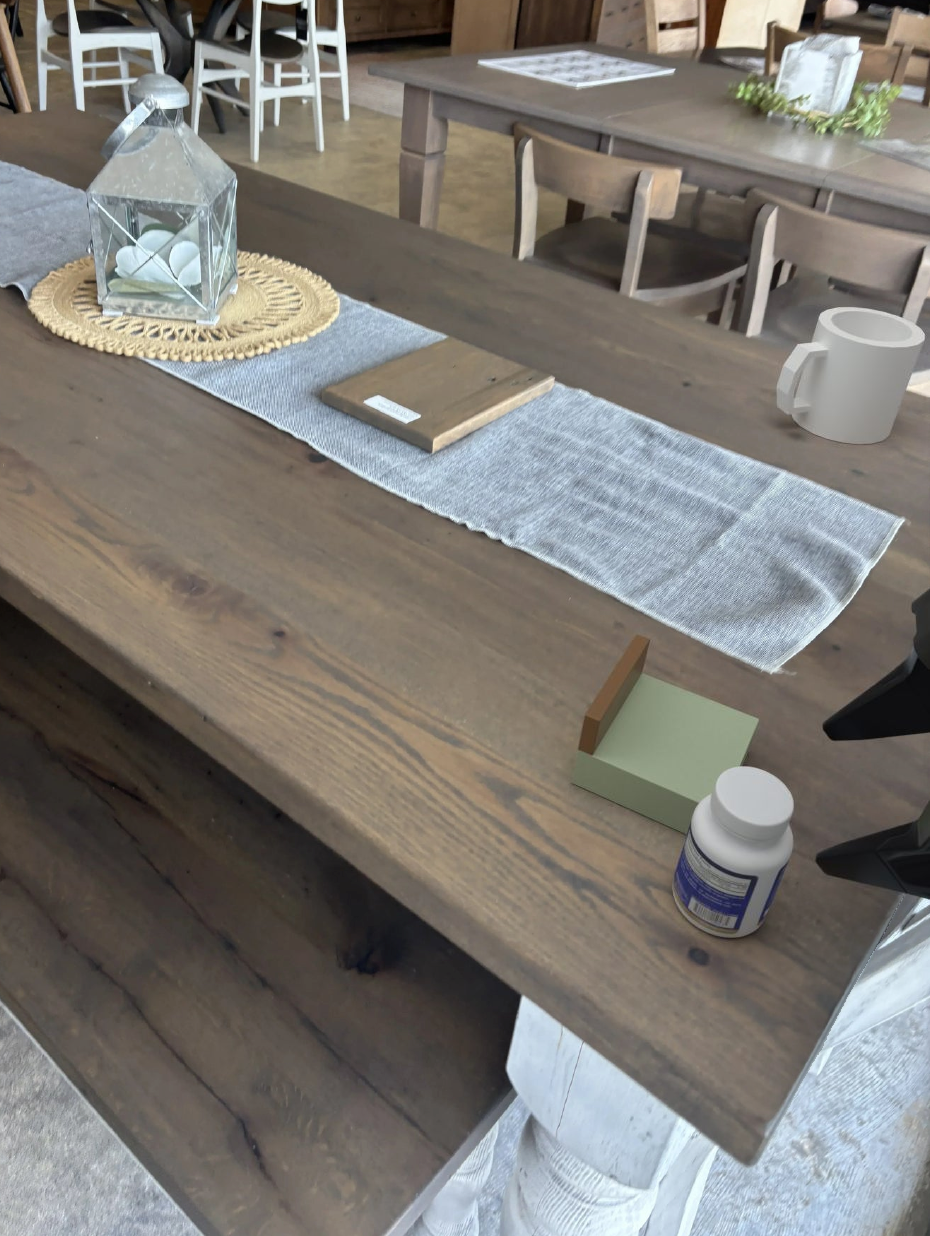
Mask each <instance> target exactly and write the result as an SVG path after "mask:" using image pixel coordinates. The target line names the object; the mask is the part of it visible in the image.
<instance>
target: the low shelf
mask: <svg viewBox="0 0 930 1236" xmlns="http://www.w3.org/2000/svg"><path fill="white" fill-rule="evenodd" d="M650 644H651V639H650V638H648V637H646V636H643V635H640V634H638V633H636V634H635V635H634V637H633V638H632V640H631V641H630V643H629V645H628V646H627V648H626V649H625V651H624V653H623V654H622V655H621V657H620V659H619V660H618V662H617V663H616V665H615V666H614V668H613V669H612V672H611V673H610V675H609V676H608V678H607V679H606V680H605V682H604V684H603V685H602V687H601V689H600V690H599V691H598V693H597V695H596V696H595V698H594V700H593V701H592V703H591V704H590V706H589V707H588V709H587V711H586V713H584V717H583V721H582V727H581V732H580V736H579V741H578V746H577V751H576V756H575V760H574V765H573V769H572V775H571V780H570V783H571V784H573V785H575V786H578V787H579V788H582V789H583V790H587V791H588V792H591V793H593V794H595V795H597V796H599V797H602V798H603V799H606V800H608V801H610V802H613V803H615V804H616V805H617V804H618V805H619V806H622V807H625V808H626V809H628V810H630V811H633V812H635V813H638V814H640V815H642V816H644V817H646V818H649V819H650V820H653V821H655V822H658V823H660V824H662V825H664V826H666V827H669V828H671V829H673V830H675V831H678V832H680V833H682V834H683V835H685V836H686V835H687V832H688V829H689V825H690V822H691V819H692V816H693V813H694V811H695V809H696V807H697V805H698V804H699V803H700V801H701V800H703V799H704V798H705V797H707V796H708V795H710V794H712V792H713V789H714V786H715V784H716V781H717V779H718V778H719V776H720V775H721V774H722V773H723V772H724V771H726V770H728V769H730V768H734V767H740V766H743V765H744V764H745V761H746V758H747V756H748V753H749V751H750V748H751V745H752V743H753V740H754V736H755V734H756V731H757V728H758V726H759V723H760V718H758V717H756V716H752V715H750V714H747V713H745V712H743V711H740V710H737V709H735V708H732V707H730V706H728V705H725V704H723V703H719V702H717V701H715V700H711V699H710V698H706V697H705V696H702V695H699V694H696V693H695V692H693V691H689V690H686V689H684V688H682V687H679V686H676V685H673V684H672V683H669V682H666V681H663V680H661V679H658V678H655V677H653V676H651V675H648V674H646V673H644V672H643V670H644V667H645V664H646V663H645V662H646V659H647V655H648V650H649V646H650Z"/></svg>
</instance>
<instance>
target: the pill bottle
mask: <svg viewBox="0 0 930 1236" xmlns="http://www.w3.org/2000/svg"><path fill="white" fill-rule="evenodd" d="M794 810H795V801H794V797H793V795H792V793H791V791H790V789H789V788H788V787H787V786H786V785H785V783H784V782H782V780H780V779H779V778H778V777H777V776H776V775H774V774H772V773H770V772H768V771H766V770H764V769H760V768H757V767H755V766H754V767H753V766H740V767H734V768H730V769H728V770H726V771H724V772H723V773H722V774H721V775H720V776H719V778H718V779H717V781H716V784H715V786H714V789H713V792H712V794H710V795H708V796H707V797H705V798H704V799H703V800H701V801H700V803H699V804H698V805H697V807H696V809H695V811H694V813H693V816H692V819H691V822H690V825H689V829H688V832H687V835H686V834H685V839H684V842H683V846H682V849H681V852H680V855H679V858H678V861H677V864H676V868H675V872H674V875H673V879H672V887H671V889H672V895H673V899H674V902H675V904H676V907H677V908H678V909H679V911H680V912H681V914H682V915H683V916H684V918H686V919H687V921H688V922H690V923H691V924H692V925H694V926H695V927H696V928H698V929H700V930H701V931H703V932H705V933H707V934H710V935H712V936H717V937H721V938H732V939H733V938H741V937H745V936H748V935H751V934H753V933H754V932H755V931H758V929H759V928H760V927H761V926H762V925H763V923H764V921H765V920H766V917H767V916H768V914H769V911H770V908H771V906H772V903H773V901H774V898H775V896H776V893H777V891H778V889H779V886H780V883H781V881H782V878H783V876H784V874H785V872H786V869H787V866H788V864H789V862H790V859H791V856H792V853H793V849H794V836H793V832H792V828H791V826H790V822H791V819H792V816H793V813H794Z"/></svg>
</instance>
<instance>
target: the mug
mask: <svg viewBox="0 0 930 1236" xmlns="http://www.w3.org/2000/svg"><path fill="white" fill-rule="evenodd" d="M925 339H926V334H925V333H924V331H923V330H922V328H921V327H920V326H918V325H916V324H915V323H914V322H912V321H910V320H908V319H907V318H906V319H905V318H903V317H901V316H900V315H899V316H898V315H895V314H893V313H889V312H886V311H881V310H876V309H873V308H872V309H871V308H864V307H856V306H855V307H854V306H843V307H842V306H840V307H838V306H837V307H833V308H829V309H826V310H824V311H822V312H820V314H819V316H818V319H817V322H816V326H815V330H814V332H813V335H812V339H811V342H805V343H797V345H796V346H795V347H794V349H793V350H792V352H791V353H790V355H789V356H788V358H787V359H786V360H785V362H784V363H783V365H782V367H781V371H780V374H779V377H778V381H777V383H776V407H777V408H778V409H779V410H781V411H782V412H783V413H785V414H786V415H791V418H792V420H793V421H794V422H795V423H796V424H797V425H798V426H799V427H800V428H802V429H804V430H805V431H807V432H809V433H810V434H813V435H815V436H818V437H821V438H823V439H826V440H830V441H834V442H838V443H842V444H851V445H873V444H876V443H880V442H883V441H884V440H887V438H888V437H889V436H890V434H891V432H892V429H893V426H894V424H895V421H896V419H897V415H898V414H899V413H898V412H899V410H900V407H901V404H902V402H903V399H904V396H905V394H906V391H907V388H908V386H909V383H910V380H911V378H912V375H913V373H914V370H915V366H916V364H917V361H918V359H919V356H920V353H921V350H922V348H923V345H924V343H925ZM800 375H801V376H800ZM798 382H799V384H798ZM797 385H798V386H797ZM795 391H796V393H795Z"/></svg>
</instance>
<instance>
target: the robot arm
mask: <svg viewBox="0 0 930 1236" xmlns="http://www.w3.org/2000/svg"><path fill="white" fill-rule="evenodd" d="M910 609H911V610H910V611H911V613H912V614H913V615H915V617H914V618H915V630H916V631H915V634H914V636H913V639H912V642H913V643H912V647H911V650H910V653H909V654H908V655H907V657H906V658H905V659H904V660H903V661H902V662H900V663H899V664H898V665H897V666H896V667H895V668H894V669H892V670H891V671H890V672H888V673H887V674H886V675H884V677H882V678H881V679H880V680H878V681H877V682H875V683H874V684H873V685H872V686H870V687H869V688H867V689H866V690H865V691H863V692H862V693H861V694H859V695H858V696H857V697H855V698H854V699H853V700H851V701H850V702H849V703H847V704H846V705H844V706H843V707H841V709H839V710H837V711H836V712H835V713H834V714H832V715H831V716H829V717H828V718H826V720H824V721H823V722H822V731H823V732H824V733H825V735H826V736H827V738H828V739H829V740H830V741H833V742H849V741H867V740H876V739H886V738H895V737H905V736H912V735H922V734H930V588H928V589H926V591H924V592H923V593H922V594H921V595H919V596H918V597H917V598H916V599H914V601H912V602H911V607H910ZM814 857H815V859H814V863H815V864H816V865H817V866H818V867H819V869H820V870H821V871H822V872H823V874H825V875H827V876H830V877H833V878H837V879H838V878H839V879H841V880H846V881H849V882H850V881H851V882H855V883H859V884H863V885H867V886H873V887H877V888H881V889H885V890H889V891H893V892H897V893H902V894H906V895H909V896H913V897H917V898H922V899H925V900H929V901H930V800H929V801H928V803H927V804H926V806H925V807H924V808H923V810H922V812H921V813H920V815H919V817H918V818H917V819H916V820H914V821H911V822H907V823H904V824H901V825H898V826H894V827H890V828H887V829H884V830H880V831H877V832H874V833H870V834H867V835H864V836H860V837H856V838H853V839H850V840H846V841H843V842H840V843H838V844H835V845H833V846H831V847H828V848H826V849H823V850H820V851H819V852H817V853H816V854H815V856H814Z"/></svg>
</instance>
